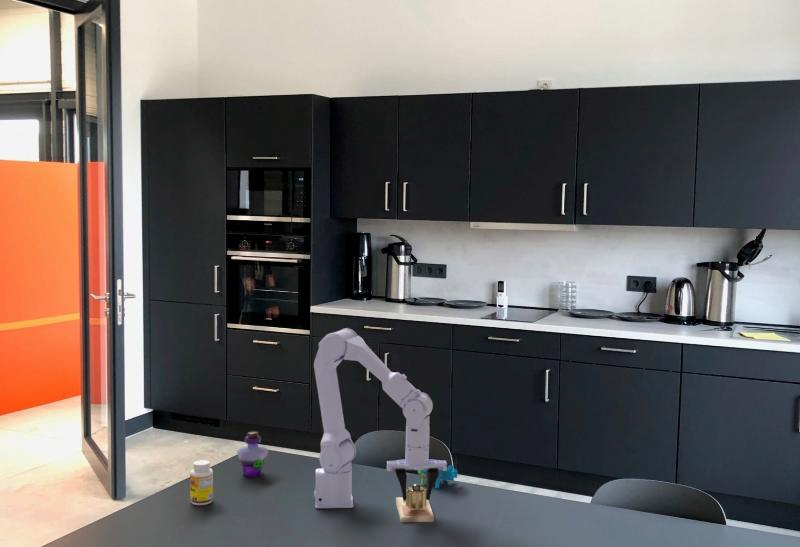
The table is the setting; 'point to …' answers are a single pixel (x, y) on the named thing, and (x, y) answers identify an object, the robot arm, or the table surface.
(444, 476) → the toy dinosaur
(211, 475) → the supplement bottle
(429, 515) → the plate
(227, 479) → the table surface
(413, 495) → the planet gear
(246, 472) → the potion bottle
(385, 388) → the robot arm
